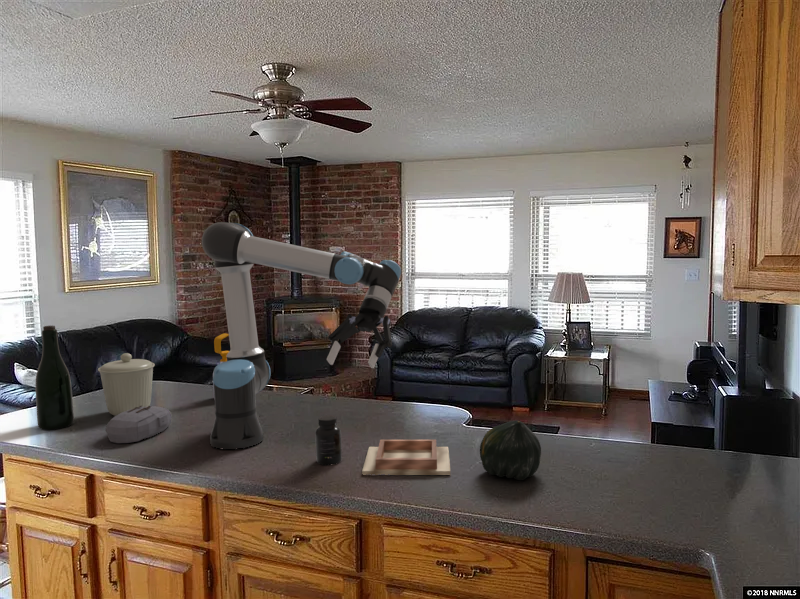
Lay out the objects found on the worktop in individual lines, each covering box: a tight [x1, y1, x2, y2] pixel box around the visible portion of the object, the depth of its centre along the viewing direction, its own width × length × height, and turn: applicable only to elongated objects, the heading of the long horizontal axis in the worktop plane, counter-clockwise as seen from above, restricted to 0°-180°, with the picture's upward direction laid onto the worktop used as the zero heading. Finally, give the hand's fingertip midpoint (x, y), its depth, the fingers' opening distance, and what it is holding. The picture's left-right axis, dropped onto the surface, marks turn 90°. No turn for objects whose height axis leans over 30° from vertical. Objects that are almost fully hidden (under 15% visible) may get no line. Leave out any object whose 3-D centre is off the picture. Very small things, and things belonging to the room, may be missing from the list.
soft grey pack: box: [105, 405, 173, 444], centre depth 189 cm, size 15×8×20 cm
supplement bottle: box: [314, 414, 343, 466], centre depth 163 cm, size 7×7×12 cm
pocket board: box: [361, 439, 451, 476], centre depth 161 cm, size 22×18×4 cm
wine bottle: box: [35, 325, 75, 431], centre depth 198 cm, size 10×10×33 cm
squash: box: [479, 420, 542, 481], centre depth 151 cm, size 14×15×15 cm
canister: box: [97, 352, 156, 417], centre depth 213 cm, size 18×18×21 cm
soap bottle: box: [212, 332, 230, 391], centre depth 230 cm, size 9×9×25 cm
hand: (349, 364), depth 171 cm, fingers open, 13 cm apart
